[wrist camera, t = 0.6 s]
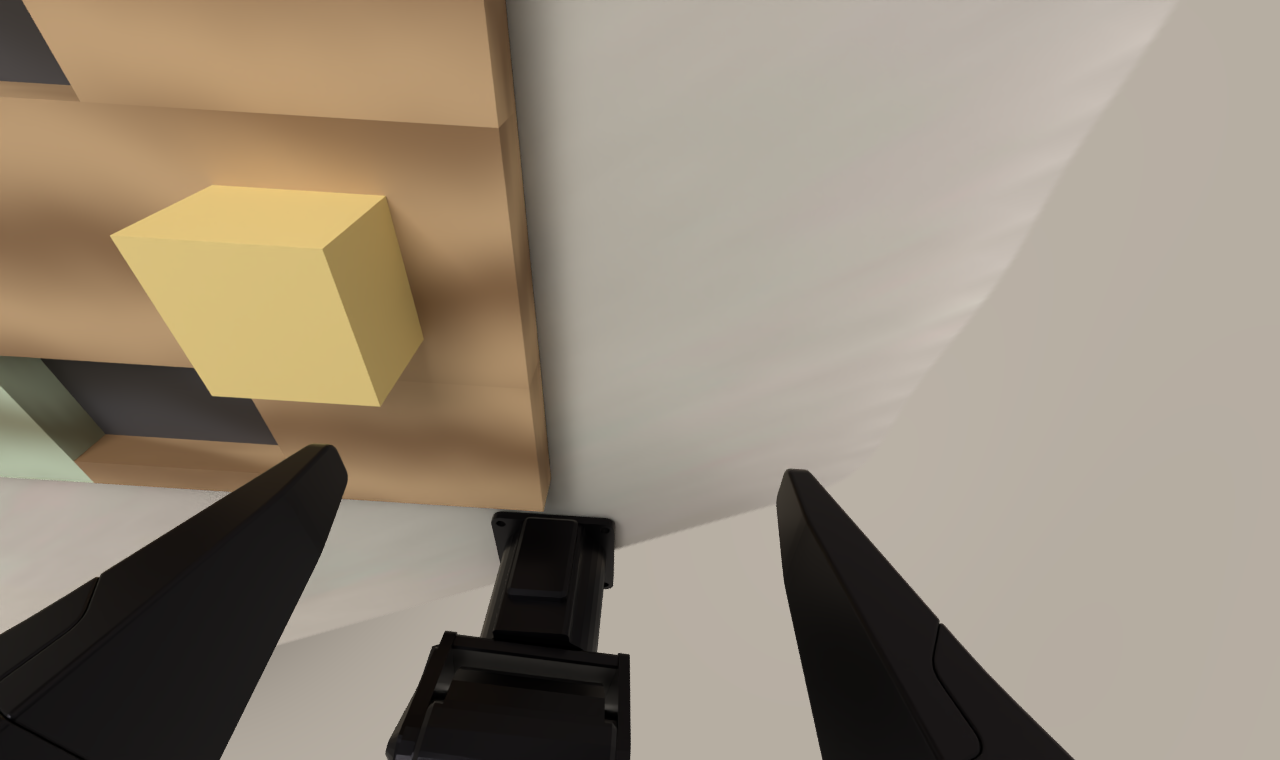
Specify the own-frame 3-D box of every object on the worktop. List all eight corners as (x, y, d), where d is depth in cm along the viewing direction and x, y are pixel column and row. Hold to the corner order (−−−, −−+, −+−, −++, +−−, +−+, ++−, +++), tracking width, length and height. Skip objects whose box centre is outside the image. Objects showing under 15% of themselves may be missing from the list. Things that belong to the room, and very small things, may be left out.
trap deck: (550, 478, 25) (543, 511, 24) (-92, 437, 26) (-141, 468, 24) (476, -304, 10) (442, -352, 9) (-1112, -401, 10) (-1427, -465, 9)
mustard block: (423, 338, 18) (380, 406, 15) (280, 330, 18) (211, 395, 15) (385, 195, 15) (322, 248, 12) (212, 184, 15) (109, 235, 12)
